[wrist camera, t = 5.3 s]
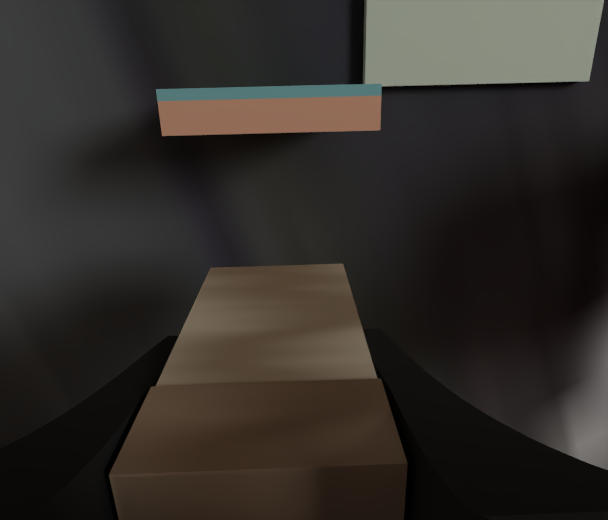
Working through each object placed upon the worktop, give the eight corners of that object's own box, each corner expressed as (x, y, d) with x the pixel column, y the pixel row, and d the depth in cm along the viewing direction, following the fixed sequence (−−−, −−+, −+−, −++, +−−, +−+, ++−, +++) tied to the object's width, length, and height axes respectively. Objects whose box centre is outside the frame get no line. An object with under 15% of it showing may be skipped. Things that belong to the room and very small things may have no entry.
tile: (350, 84, 19) (381, 83, 12) (350, 115, 19) (380, 130, 13) (203, 88, 19) (155, 89, 12) (206, 118, 19) (162, 136, 13)
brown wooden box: (344, 261, 14) (407, 463, 6) (344, 335, 15) (398, 588, 7) (208, 266, 14) (108, 474, 6) (216, 339, 15) (136, 599, 7)
